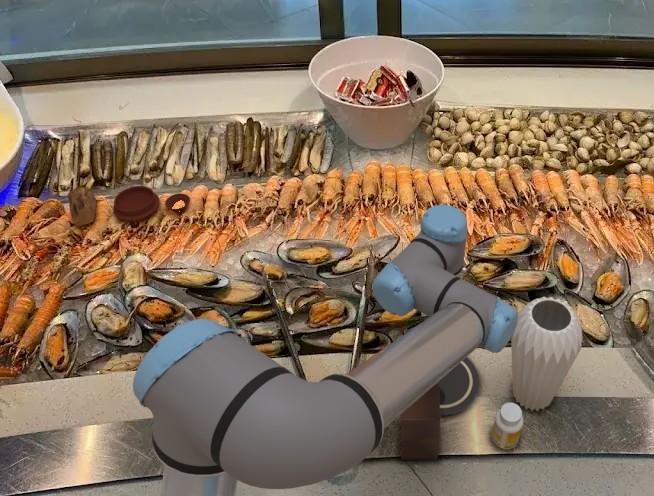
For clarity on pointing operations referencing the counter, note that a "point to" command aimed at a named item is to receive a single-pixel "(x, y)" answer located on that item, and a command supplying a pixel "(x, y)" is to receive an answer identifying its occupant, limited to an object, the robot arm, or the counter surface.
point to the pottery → (143, 203)
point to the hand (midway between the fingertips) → (436, 356)
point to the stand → (421, 427)
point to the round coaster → (458, 388)
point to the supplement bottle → (507, 426)
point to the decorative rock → (82, 206)
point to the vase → (543, 350)
